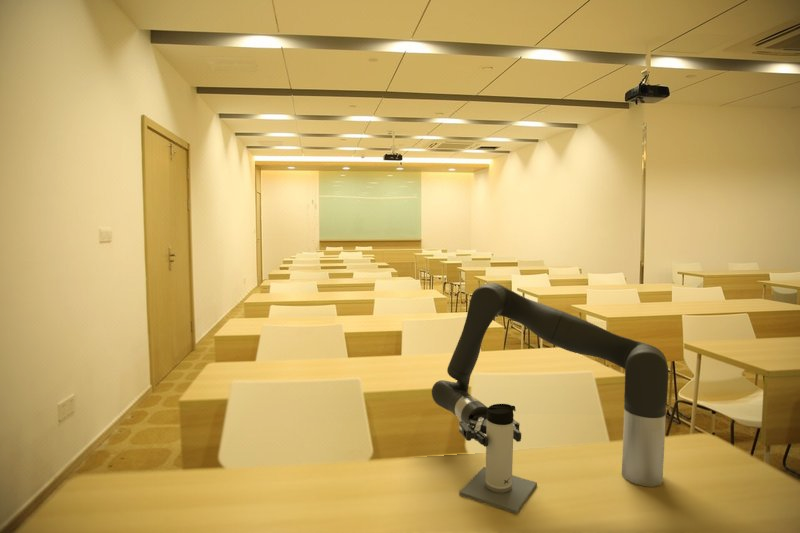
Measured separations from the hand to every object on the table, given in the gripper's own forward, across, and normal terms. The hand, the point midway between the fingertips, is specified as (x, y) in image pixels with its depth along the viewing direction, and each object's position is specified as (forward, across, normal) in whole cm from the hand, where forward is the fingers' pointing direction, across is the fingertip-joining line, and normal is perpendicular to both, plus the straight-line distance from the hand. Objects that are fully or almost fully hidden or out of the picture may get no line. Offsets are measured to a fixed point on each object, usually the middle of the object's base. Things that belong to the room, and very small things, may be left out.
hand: (503, 440), depth 113 cm
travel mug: (-2, 0, +13) cm, 13 cm away
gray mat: (-2, 0, +13) cm, 13 cm away
